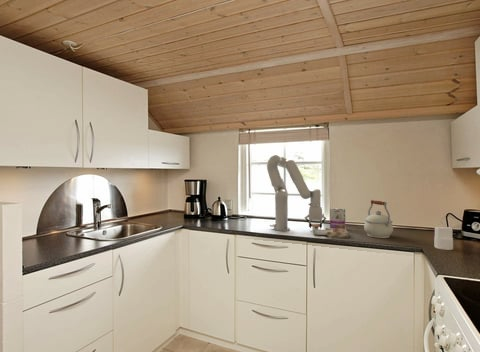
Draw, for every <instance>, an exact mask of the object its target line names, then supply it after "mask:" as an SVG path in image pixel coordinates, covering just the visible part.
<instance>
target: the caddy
mask: <svg viewBox="0 0 480 352" xmlns="http://www.w3.org/2000/svg"><path fill="white" fill-rule="evenodd" d="M325 230H333V232H327V235H326V237H327V238H345V239H347V238H350V237H349V235H350V233H349V232H348V230H347V229H346V228H345V229H335V228H330V227H328V228H327V227H326V228H325Z"/></svg>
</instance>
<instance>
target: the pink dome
mask: <svg viewBox="0 0 480 352" xmlns="http://www.w3.org/2000/svg"><path fill="white" fill-rule="evenodd" d="M313 226H314V227H318V228H320V223H318V222H317V223H316V222H315V223H313V222H311V228H312V227H313Z"/></svg>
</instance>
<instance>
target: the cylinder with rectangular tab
mask: <svg viewBox="0 0 480 352" xmlns="http://www.w3.org/2000/svg"><path fill="white" fill-rule="evenodd" d="M433 241H434V243H433V244H434V245H433V246H434V248H435V249H439V250H443V251H444V250H447V251H450V250H451V251H452V250H454V238H453V227H449V226H439V227H438V226H437V227H436V226H435V227H434V240H433Z"/></svg>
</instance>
